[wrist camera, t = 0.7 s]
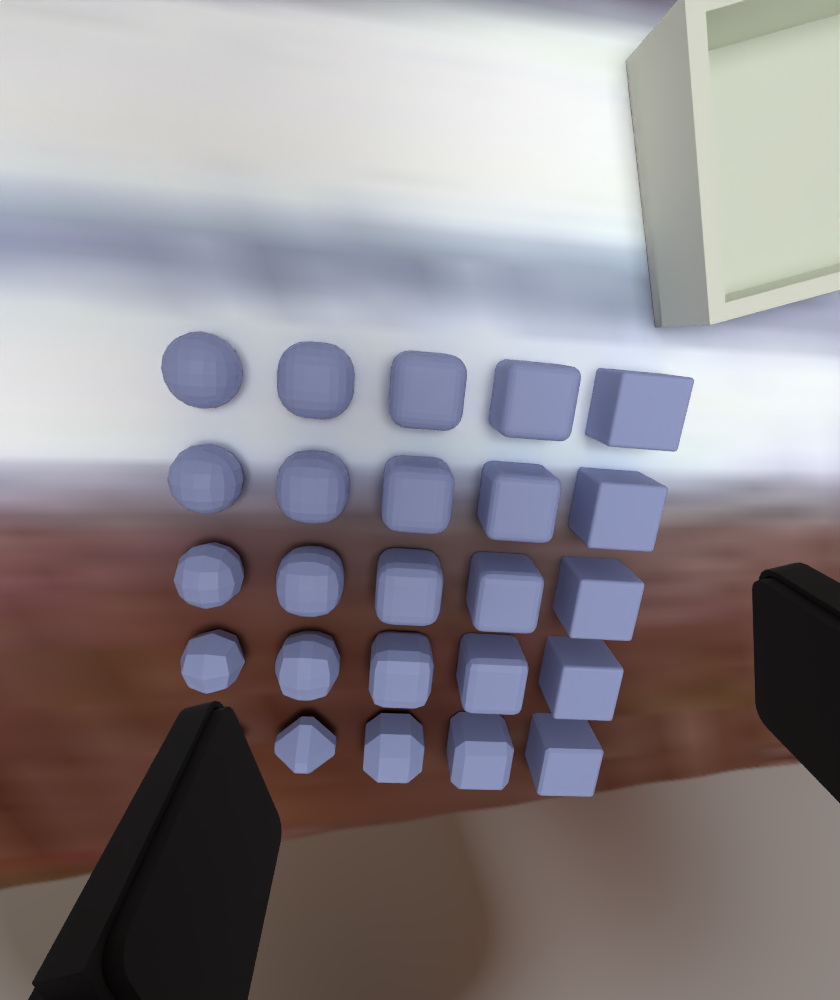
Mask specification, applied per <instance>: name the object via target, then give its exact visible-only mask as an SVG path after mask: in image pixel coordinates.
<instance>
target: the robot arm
mask: <svg viewBox="0 0 840 1000" xmlns="http://www.w3.org/2000/svg"><path fill="white" fill-rule="evenodd" d="M752 601H753V636H754V670H755V703H756V709H757V712H758V714H759V717H760V719H761V720H762V722H763V723H764V725H765V726H766V727H767V728H768V729H769V730H770V731H771V732H772V733H773V734H774V736H775V737H776V738H777V739H778V740H779V741H780V742H781V743H782V744H783V745H784V746H785V747H786V748H787V749H788V750H789V751H790V752H791V753H792V754H793V755H794V756H795V757H796V758H797V759H798V760H799V761H800V762H801V763H802V764H803V765H804V767H805V768H806V769H807V770H808V771H809V772H810V773H811V774H812V775H813V776H814V777H815V778H816V779H817V780H818V781H819V782H820V783H821V784H822V785H823V786H824V787H825V788H826V789H827V790H828V791H829V792H830V793H831V795H833V797H834V798H835V799H836V800H837V801H838V802H839V803H840V583H839V582H837V581H835V580H833V579H832V578H830V577H828V576H826V575H824V574H822V573H821V572H819V571H817V570H815V569H813V568H811V567H810V566H808V565H806V564H803V563H792V564H788V565H784V566H780V567H776V568H771V569H767V570H765V571H763V572H762V573H761V575H760V577H759V580H758V581H756V582H754V584H753V587H752ZM280 842H281V822H280V818H279V815H278V812H277V810H276V808H275V805H274V803H273V801H272V798H271V796H270V794H269V792H268V789H267V787H266V785H265V782H264V780H263V778H262V775H261V773H260V771H259V768H258V766H257V764H256V761H255V759H254V757H253V754H252V752H251V750H250V747H249V745H248V743H247V740H246V738H245V736H244V733H243V731H242V729H241V726H240V724H239V722H238V720H237V717H236V715H235V713H234V711H233V709H232V708H230V707H225V708H224V707H223V705H222V704H221V703H220V702H218V701H213V702H209V703H205V704H201V705H196V706H192V707H188V708H185V709H183V710H182V711H181V712H180V714H179V715H178V717H177V719H176V721H175V722H174V724H173V726H172V728H171V730H170V732H169V733H168V735H167V737H166V739H165V741H164V743H163V744H162V746H161V748H160V750H159V752H158V753H157V755H156V757H155V759H154V761H153V763H152V764H151V766H150V768H149V770H148V772H147V774H146V775H145V777H144V779H143V781H142V783H141V785H140V786H139V788H138V790H137V792H136V794H135V796H134V797H133V799H132V801H131V803H130V805H129V806H128V808H127V810H126V812H125V814H124V816H123V817H122V819H121V821H120V823H119V825H118V827H117V828H116V830H115V832H114V834H113V836H112V838H111V839H110V841H109V843H108V845H107V847H106V849H105V850H104V852H103V854H102V856H101V858H100V859H99V861H98V863H97V865H96V867H95V869H94V870H93V872H92V874H91V876H90V878H89V880H88V881H87V883H86V885H85V887H84V889H83V891H82V892H81V894H80V896H79V898H78V900H77V902H76V904H75V905H74V907H73V909H72V911H71V912H70V914H69V916H68V918H67V920H66V922H65V923H64V926H63V927H62V929H61V931H60V933H59V934H58V936H57V938H56V940H55V942H54V944H53V945H52V947H51V949H50V951H49V953H48V954H47V956H46V958H45V960H44V962H43V964H42V966H41V967H40V969H39V971H38V973H37V975H36V976H35V979H34V980H33V982H32V984H33V985H34V987H35V988H34V990H33V992H32V994H31V996H30V997H29V999H28V1000H248V995H249V990H250V985H251V980H252V976H253V971H254V966H255V961H256V957H257V952H258V947H259V942H260V938H261V933H262V928H263V923H264V918H265V914H266V909H267V904H268V899H269V894H270V889H271V885H272V880H273V875H274V870H275V866H276V861H277V856H278V852H279V846H280Z"/></svg>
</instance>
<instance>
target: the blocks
mask: <svg viewBox="0 0 840 1000" xmlns="http://www.w3.org/2000/svg"><path fill="white" fill-rule="evenodd" d="M161 369H162V373H163V378H164V381H165V383H166V385H167V387H168V388H169V390H170V392H171V393H172V394H173V395H174V396H175V397H176V398H177V399H179V400H180V401H182V402H184V403H185V404H187V405H190V406H194V407H198V408H216V407H219V406H221V405H223V404H226V403H227V402H228V401H229V400H230V399H231V398H233V397H234V396H235V394H236V393H237V391H238V389H239V387H240V385H241V381H242V375H243V372H242V367H241V361H240V359H239V357H238V355H237V353H236V352H235V350H234V349H233V348H232V347H231V346H230V345H229V344H228V343H227V342H225V341H224V340H222V339H221V338H219V337H217V336H216V335H213V334H209V333H205V332H190V333H187V334H185V335H183V336H180V337H178V338H176V339H175V340H174V341H172V342H171V343H170V344H169V345H168V347H167V349H166V351H165V353H164V355H163V359H162V367H161ZM354 377H355V375H354V366H353V364H352V362H351V359H350V357H349V356H348V355H347V354H346V353H345V352H344V350H342V349H340V348H339V347H337V346H336V345H332V344H328V343H321V342H299V343H297V344H295V345H292V346H290V347H289V348H288V349H287V350H286V351H285V352H284V353H283V355H282V357H281V359H280V361H279V365H278V371H277V388H278V394H279V398H280V400H281V402H282V403H283V405H284V406H285V407H286V408H287V409H288V411H290V412H292V413H293V414H295V415H297V416H301V417H305V418H314V419H330V418H333V417H336V416H338V415H340V414H341V413H342V412H343V411H345V410H346V409H347V407H348V405H349V404H350V402H351V400H352V397H353V392H354ZM466 379H467V370H466V367H465V364H464V363H463V362H462V361H461V360H460V359H459V358H457V357H456V356H452V355H448V354H442V353H431V352H420V351H404V352H402V353H400V354H398V355H397V356H396V357H395V359H394V361H393V363H392V367H391V381H390V395H389V414H390V416H391V418H392V420H393V421H394V422H395V423H396V424H398V425H399V426H401V427H405V428H417V429H429V430H442V431H444V430H450V429H453V428H454V427H456V426H457V425H458V424H459V422H460V421H461V417H462V414H463V405H464V396H465V387H466ZM580 380H581V375H580V372H579V370H578V369H576V368H575V367H572V366H566V365H559V364H551V363H540V362H529V361H519V360H508V359H507V360H502V361H500V362H499V363H498V365H497V366H496V370H495V378H494V386H493V393H492V401H491V409H490V416H489V421H490V424H491V425H492V426H493V427H494V428H495V429H496V430H498V431H499V432H500V433H501V434H502V435H504V436H506V437H514V438H526V439H539V440H551V441H564V440H566V439H567V438H568V437H569V436H570V434H571V431H572V425H573V420H574V414H575V408H576V403H577V397H578V392H579V386H580ZM693 383H694V379H693V378H690V377H682V376H675V375H667V374H659V373H648V372H638V371H627V370H616V369H605V368H599V369H597V372H596V377H595V382H594V388H593V393H592V398H591V404H590V409H589V414H588V420H587V425H586V430H585V434H586V435H587V436H589V437H591V438H594V439H596V440H598V441H600V442H602V443H604V444H606V445H608V446H611V447H624V448H637V449H649V450H662V451H676V450H677V449H678V445H679V441H680V437H681V433H682V429H683V425H684V420H685V416H686V412H687V408H688V404H689V400H690V396H691V392H692V387H693ZM243 479H244V477H243V473H242V469H241V465H240V463H239V462H238V461H237V459H236V458H235V456H234V455H233V454H231V453H230V452H228V451H227V450H226V449H224V448H221V447H217V446H214V445H197V446H191V447H189V448H188V449H186V450H184V451H182V452H181V453H179V455H178V456H177V458H176V459H175V461H174V462H173V464H172V465H171V466H170V470H169V476H168V483H169V487H170V490H171V494H172V495H173V497H174V498H175V499H176V500H177V502H178V503H179V504H180V505H182V506H183V507H185V508H186V509H188V510H189V511H193V512H197V513H201V514H208V513H215V512H219V511H222V510H224V509H225V508H227V507H229V506H231V505H233V503H234V502H235V501H236V499H237V498H238V497H239V495H240V493H241V488H242V483H243ZM667 491H668V488H667V487H666V486H664V485H662V484H660V483H658V482H657V481H655V480H653V479H651V478H649V477H647V476H645V475H643V474H642V473H640V472H637V471H624V470H611V469H597V468H584V467H580V468H579V469H578V473H577V479H576V484H575V489H574V495H573V500H572V505H571V511H570V516H569V521H568V527H569V528H570V529H571V530H572V531H573V532H574V533H575V534H576V535H577V536H578V537H579V538H580V539H581V540H582V541H583V542H584V543H585V544H586V545H587V546H588V547H589V548H600V549H616V550H631V551H647V552H651V551H653V548H654V544H655V540H656V536H657V532H658V528H659V524H660V519H661V515H662V511H663V507H664V503H665V499H666V495H667ZM453 493H454V477H453V475H452V473H451V471H450V469H449V467H448V465H447V463H445V462H444V461H443V460H441V459H437V458H430V457H417V456H403V455H401V456H395V457H393V458H391V459H390V460H389V461H388V462H387V464H386V466H385V469H384V479H383V493H382V511H381V514H382V520H383V522H384V523H385V525H386V526H387V527H388V528H389V529H391V530H393V531H397V532H411V533H426V534H435V533H440V532H442V531H444V530H445V529H446V528H447V527H448V524H449V521H450V518H451V510H452V501H453ZM560 493H561V483H560V481H559V479H558V478H556V477H555V476H554V475H553V474H552V473H550V472H549V471H548V470H547V469H546V468H544V467H543V466H542V465H539V464H526V463H513V462H500V461H489V462H487V463H486V464H485V465H484V467H483V471H482V479H481V486H480V494H479V502H478V509H477V517H478V519H479V521H480V523H481V525H482V527H483V529H484V531H485V533H486V535H487V536H488V537H489V538H491V539H493V540H505V541H521V542H537V543H545V542H548V541H549V540H550V539H551V538H552V536H553V532H554V526H555V521H556V515H557V509H558V504H559V498H560ZM348 494H349V476H348V470H347V468H346V467H345V465H344V463H343V462H342V460H341V459H339V458H338V457H337V456H335V455H334V454H330V453H327V452H323V451H302V452H297V453H295V454H293V455H291V456H290V457H288V458H287V459H286V461H285V462H284V463H283V465H282V466H281V467H280V469H279V472H278V477H277V499H278V503H279V507H280V509H281V510H282V511H283V513H284V514H285V515H286V516H288V517H289V518H290V519H292V520H295V521H299V522H303V523H324V522H329V521H331V520H333V519H334V518H336V517H337V516H339V514H340V513H341V512H342V511H343V509H344V508H345V505H346V501H347V498H348ZM243 578H244V568H243V565H242V562H241V559H240V556H239V555H238V554H237V553H236V552H235V551H234V550H233V549H232V548H231V547H228V546H225V545H222V544H219V543H216V542H213V543H208V544H203V545H198V546H195V547H192V548H191V549H189V550H188V551H187V552H186V553H185V554H184V555H183V556H181V557H180V558H179V562H178V566H177V570H176V574H175V578H174V583H175V585H176V588H177V591H178V593H179V596H180V597H182V598H183V599H184V600H185V601H186V602H187V603H188V604H191V605H194V606H198V607H201V608H204V609H207V608H212V607H217V606H222V605H223V604H225V603H226V602H228V601H229V600H230V599H231V598H232V597H234V596H235V595H236V594H237V593H238V592H240V589H241V585H242V582H243ZM343 587H344V570H343V565H342V561H341V559H340V557H339V556H338V555H337V554H336V553H335V552H334V551H333V550H330V549H327V548H324V547H321V546H303V547H299V548H295V549H293V550H292V551H291V552H289V553H288V554H287V555H286V556H285V557H283V558H282V560H281V563H280V565H279V568H278V572H277V575H276V591H277V596H278V599H279V602H280V605H281V606H282V607H283V608H284V609H285V610H286V611H287V612H289V613H292V614H295V615H298V616H308V617H315V616H320V615H325V614H328V613H329V612H330V611H331V610H333V609H334V608H335V607H336V605H337V604H338V603H339V600H340V598H341V595H342V592H343ZM543 587H544V581H543V577H542V576H541V574H540V572H539V571H538V569H537V568H536V566H535V565H534V563H533V562H532V560H531V559H530V557H529V556H527V555H525V554H514V553H498V552H476V553H475V554H473V556H472V558H471V563H470V571H469V579H468V587H467V594H466V602H467V606H468V609H469V612H470V616H471V619H472V623H473V625H474V627H475V628H476V629H477V630H480V631H487V632H508V633H531V632H533V631H534V630H535V628H536V626H537V621H538V615H539V610H540V604H541V598H542V593H543ZM442 589H443V575H442V570H441V565H440V561H439V558H438V557H437V556H436V555H435V554H434V553H433V552H431V551H428V550H422V549H406V548H391V549H386V550H385V551H384V552H383V553H382V554H381V555H380V557H379V560H378V563H377V577H376V591H375V610H376V614H377V616H378V618H379V619H380V620H381V621H382V622H384V623H388V624H394V625H415V626H425V625H430V624H432V623H433V622H435V621H436V619H437V617H438V614H439V612H440V607H441V598H442ZM643 590H644V583H643V582H642V581H641V580H640V579H639V578H638V577H637V576H636V575H635V574H634V573H633V572H631V571H630V570H629V569H628V568H627V567H626V566H625V565H624V564H623V563H622V562H621V561H620V560H618V559H605V558H588V557H572V556H563V557H562V559H561V564H560V569H559V575H558V580H557V586H556V591H555V596H554V602H553V607H552V608H553V610H554V612H555V614H556V615H557V617H558V619H559V620H560V622H561V624H562V625H563V627H564V628H565V630H566V632H567V633H568V635H569V637H562V636H548V637H547V639H546V644H545V650H544V655H543V660H542V666H541V671H540V676H539V682H538V683H539V686H540V688H541V690H542V692H543V695H544V697H545V699H546V702H547V704H548V706H549V709H550V711H551V713H535V714H533V715H532V719H531V725H530V730H529V735H528V741H527V746H526V751H525V757H526V760H527V763H528V766H529V769H530V772H531V775H532V778H533V781H534V784H535V787H536V791H537V793H538V794H539V795H550V796H593V794H594V790H595V786H596V782H597V778H598V774H599V769H600V765H601V761H602V757H603V753H604V752H603V750H602V748H601V746H600V744H599V742H598V740H597V738H596V736H595V734H594V732H593V731H592V729H591V727H590V725H589V723H588V721H587V720H606V721H610V720H612V717H613V713H614V709H615V705H616V701H617V697H618V693H619V688H620V684H621V680H622V676H623V668H622V667H621V665H620V664H619V662H618V661H617V659H616V658H615V657H614V655H613V654H612V652H611V651H610V650H609V648H608V647H607V645H606V644H605V643H604V641H603V640H622V641H630V640H631V639H632V635H633V631H634V627H635V623H636V619H637V615H638V610H639V606H640V602H641V598H642V594H643ZM244 663H245V660H244V656H243V652H242V648H241V646H240V643H239V641H238V638H237V636H236V635H233V634H231V633H228V632H226V631H223V630H220V629H218V630H214V631H210V632H206V633H202V634H199V635H197V636H196V637H194V638H192V639H190V640H189V642H188V644H187V646H186V648H185V650H184V653H183V655H182V657H181V674H182V675H183V677H184V679H185V681H186V683H187V685H188V687H190V688H192V689H195V690H198V691H200V692H203V693H205V694H207V693H211V692H215V691H218V690H222V689H226V688H227V687H229V686H230V685H231V684H232V683H233V682H235V681H236V679H237V677H238V675H239V673H240V671H241V669H242V667H243V665H244ZM339 668H340V655H339V653H338V650H337V648H336V645H335V643H334V640H333V638H332V636H330V635H327V634H324V633H322V632H319V631H303V632H299V633H295V634H291V635H290V636H289V637H288V638H287V639H286V640H285V642H284V644H283V646H282V648H281V650H280V651H279V653H278V656H277V659H276V665H275V673H276V676H277V679H278V682H279V685H280V687H281V690H282V693H283V695H286V696H288V697H291V698H294V699H296V700H314V699H317V698H321V697H324V696H326V695H327V694H328V692H329V691H330V689H331V688H332V686H333V684H334V682H335V680H336V679H337V677H338V675H339ZM433 668H434V664H433V657H432V650H431V646H430V643H429V640H428V638H427V637H426V636H425V635H423V634H420V633H416V632H395V631H386V632H382V633H378V635H377V636H376V638H375V640H374V642H373V644H372V647H371V661H370V676H369V692H370V694H371V697H372V699H373V701H374V704H376V705H379V706H381V707H390V708H418V707H421V706H424V705H425V703H426V701H427V699H428V697H429V695H430V693H431V685H432V677H433ZM528 669H529V668H528V665H527V661H526V659H525V657H524V654H523V652H522V650H521V647H520V645H519V643H518V640H517V638H516V637H514V636H512V635H503V634H482V633H467V634H464V635H463V637H462V639H461V641H460V648H459V656H458V664H457V671H456V678H457V683H458V688H459V693H460V698H461V703H462V706H463V709H464V710H465V711H467V712H459V713H457V714H456V715H454V716H453V717H452V718H450V725H449V733H448V741H447V748H446V751H447V759H448V766H449V773H450V780H451V782H452V783H453V784H454V785H455V786H456V787H457V788H459V789H487V790H502V789H503V788H504V787H505V786H506V785H507V783H508V781H509V775H510V770H511V764H512V759H513V753H514V748H513V745H512V741H511V738H510V735H509V732H508V728H507V725H506V722H505V720H504V719H503V718H502V717H501V716H500V715H499V714H511V715H514V714H517V713H519V712H520V710H521V707H522V702H523V697H524V691H525V685H526V680H527V674H528ZM335 747H336V736H335V735H334V734H332V733H331V732H330V731H329V730H328V729H327V728H326V727H324V726H323V725H322V724H321V723H320V722H319V721H318V720H316V719H315V718H314V717H303V716H301V717H300V718H299V719H298V720H296V721H295V722H294V723H292V724H291V725H290V726H288V727H287V728H286V729H284V730H283V731H282V732H281V733H279V734H278V735H277V738H276V742H275V754H276V755H277V756H278V757H279V758H280V759H281V760H282V761H283V762H284V763H285V764H286V765H287V766H288V767H289V768H290V769H291V770H292V771H293V772H294V773H311V772H312V771H314V770H315V769H316V768H318V767H319V766H320V765H322V764H323V763H324V762H326V761H327V760H328V759H330V758H331V757H332V756H334V755H335ZM423 756H424V737H423V726H422V725H421V724H420V723H419V722H418V721H417V720H416V719H414V718H413V717H412V716H411V715H410V714H395V713H381V714H379V715H378V716H377V717H375V718H374V719H372V720H371V721H370V722H368V723H367V724H366V731H365V745H364V762H363V770H364V771H365V772H366V773H367V774H368V775H370V776H371V777H372V778H373V779H374V780H375V781H376V782H386V783H408V782H409V781H411V780H412V779H413V778H414V777H415V776H417V775H418V774H419V773H420V772H421V771H422V764H423Z"/></svg>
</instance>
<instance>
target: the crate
mask: <svg viewBox="0 0 840 1000" xmlns="http://www.w3.org/2000/svg"><path fill="white" fill-rule="evenodd" d="M626 66H627V75H628V84H629V93H630V102H631V111H632V120H633V129H634V139H635V148H636V157H637V166H638V175H639V184H640V193H641V202H642V211H643V221H644V230H645V239H646V248H647V257H648V266H649V275H650V284H651V293H652V303H653V312H654V321H655V327H672V326H697V325H712V324H715V323H719V322H723V321H726V320H730V319H734V318H737V317H741V316H745V315H749V314H752V313H756V312H760V311H763V310H767V309H771V308H774V307H778V306H782V305H785V304H789V303H793V302H796V301H800V300H804V299H807V298H811V297H815V296H818V295H822V294H826V293H829V292H833V291H837V290H840V0H678V1H677V2H676V3H675V4H674V5H673V6H672V8H671V9H670V10H669V11H668V12H667V13H666V15H665V16H664V17H663V18H662V19H661V20H660V22H659V23H658V24H657V25H656V26H655V27H654V29H653V30H652V31H651V32H650V33H649V34H648V36H647V37H646V38H645V39H644V40H643V41H642V43H641V44H640V45H639V46H638V47H637V48H636V50H635V51H634V52H633V53H632V54H631V55H630V57H629V58H628V59H627V60H626Z"/></svg>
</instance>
